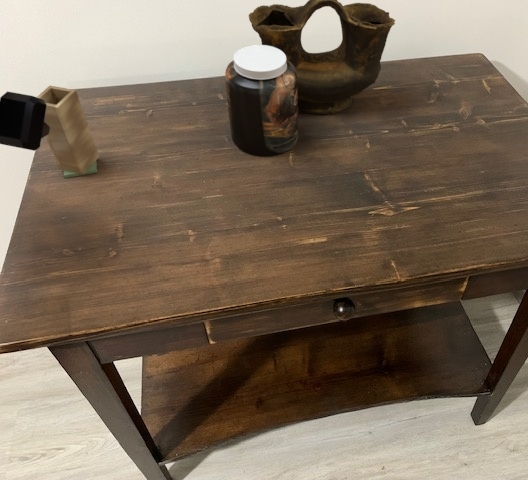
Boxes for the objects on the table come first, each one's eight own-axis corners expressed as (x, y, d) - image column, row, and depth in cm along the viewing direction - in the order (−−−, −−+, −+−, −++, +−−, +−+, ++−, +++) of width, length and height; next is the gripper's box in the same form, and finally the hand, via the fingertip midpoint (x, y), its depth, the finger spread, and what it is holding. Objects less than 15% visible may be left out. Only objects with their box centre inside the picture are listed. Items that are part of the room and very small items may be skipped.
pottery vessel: (257, 121, 97) (249, 14, 82) (253, 89, 104) (245, -15, 90) (390, 113, 100) (405, 8, 85) (377, 82, 107) (390, -20, 92)
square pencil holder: (84, 174, 85) (57, 107, 76) (59, 169, 86) (30, 102, 76) (99, 156, 88) (76, 89, 79) (75, 151, 89) (49, 85, 80)
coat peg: (64, 178, 85) (57, 161, 83) (64, 159, 88) (57, 142, 86) (97, 172, 86) (90, 155, 84) (96, 154, 90) (89, 137, 87)
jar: (226, 155, 90) (215, 75, 79) (236, 115, 98) (228, 37, 87) (295, 158, 90) (294, 79, 79) (300, 118, 98) (300, 41, 87)
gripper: (2, 33, 55) (90, 75, 70) (-150, 9, 57) (-33, 55, 73) (-15, 140, 55) (76, 159, 71) (-165, 111, 58) (-46, 135, 74)
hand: (18, 124), depth 72 cm, fingers open, 9 cm apart
